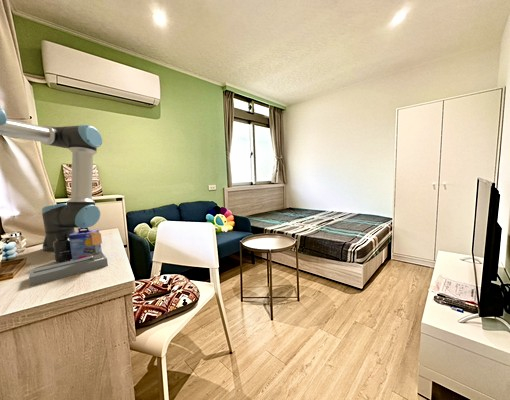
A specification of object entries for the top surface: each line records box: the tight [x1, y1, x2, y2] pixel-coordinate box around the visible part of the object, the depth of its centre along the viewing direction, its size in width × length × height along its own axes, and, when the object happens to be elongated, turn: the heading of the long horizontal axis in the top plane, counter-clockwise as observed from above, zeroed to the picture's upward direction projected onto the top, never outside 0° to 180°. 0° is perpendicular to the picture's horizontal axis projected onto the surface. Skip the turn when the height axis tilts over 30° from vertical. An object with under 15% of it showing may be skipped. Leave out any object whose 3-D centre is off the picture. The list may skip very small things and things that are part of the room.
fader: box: [90, 231, 104, 259], centre depth 89 cm, size 3×6×10 cm, turn 44°
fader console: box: [28, 253, 109, 287], centre depth 83 cm, size 22×9×3 cm, turn 134°
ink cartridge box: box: [69, 227, 103, 261], centre depth 96 cm, size 10×6×14 cm, turn 113°
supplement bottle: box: [53, 232, 72, 263], centre depth 96 cm, size 7×7×12 cm
